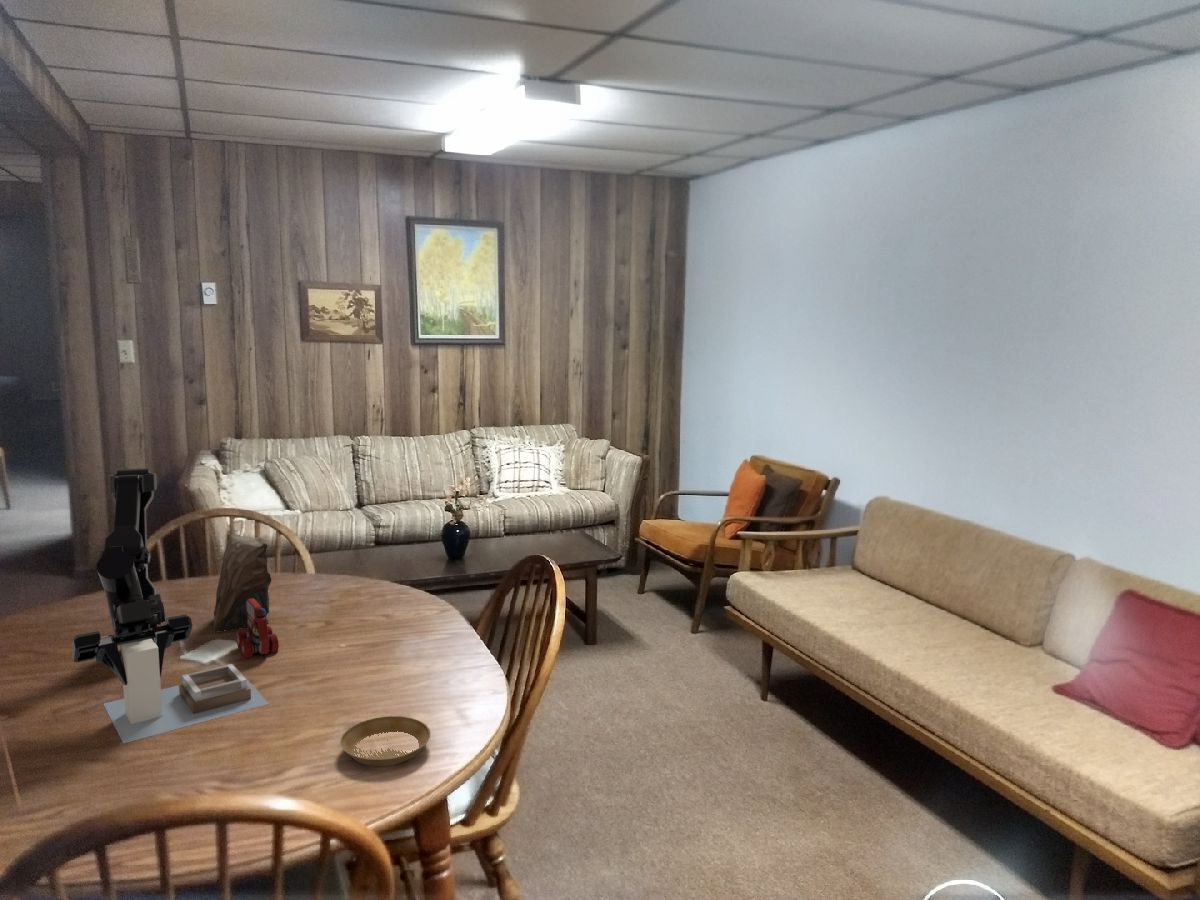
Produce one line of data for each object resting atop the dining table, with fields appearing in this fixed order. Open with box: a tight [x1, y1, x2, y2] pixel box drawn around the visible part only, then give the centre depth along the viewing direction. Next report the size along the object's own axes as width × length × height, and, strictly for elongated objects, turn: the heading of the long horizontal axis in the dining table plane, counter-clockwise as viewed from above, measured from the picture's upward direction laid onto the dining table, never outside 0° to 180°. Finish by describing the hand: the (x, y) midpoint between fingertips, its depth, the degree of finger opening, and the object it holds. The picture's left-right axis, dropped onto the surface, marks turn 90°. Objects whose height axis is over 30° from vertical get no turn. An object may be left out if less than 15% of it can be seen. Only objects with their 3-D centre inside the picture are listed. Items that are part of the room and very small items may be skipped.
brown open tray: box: [178, 663, 251, 714], centre depth 157 cm, size 10×10×4 cm
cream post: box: [119, 639, 162, 724], centre depth 149 cm, size 5×5×13 cm
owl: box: [213, 533, 272, 633], centre depth 195 cm, size 13×13×20 cm
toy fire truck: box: [235, 598, 280, 659], centre depth 179 cm, size 7×12×10 cm, turn 35°
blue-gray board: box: [103, 670, 270, 745], centre depth 154 cm, size 18×24×1 cm
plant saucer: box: [340, 715, 431, 767], centre depth 141 cm, size 15×15×3 cm
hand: (143, 680), depth 148 cm, fingers closed on cream post, 5 cm apart
